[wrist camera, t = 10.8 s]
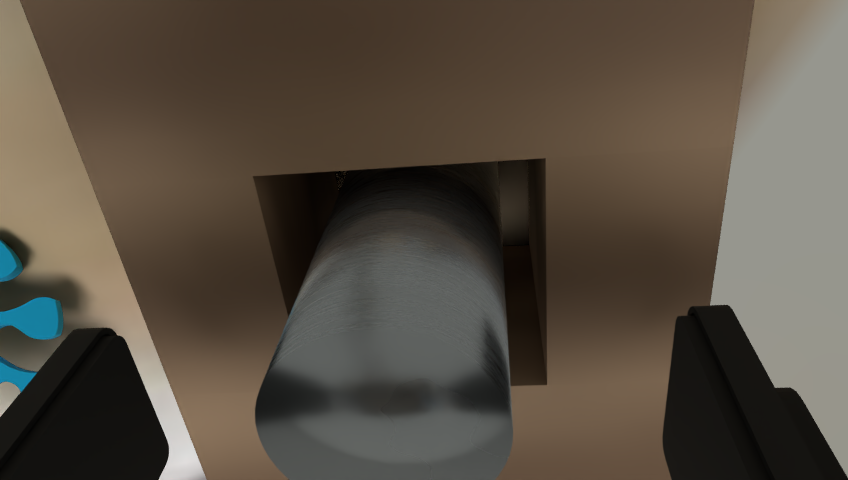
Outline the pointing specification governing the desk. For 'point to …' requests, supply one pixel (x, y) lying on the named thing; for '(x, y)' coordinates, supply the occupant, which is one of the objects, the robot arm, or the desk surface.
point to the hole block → (404, 147)
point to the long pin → (397, 335)
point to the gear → (26, 318)
